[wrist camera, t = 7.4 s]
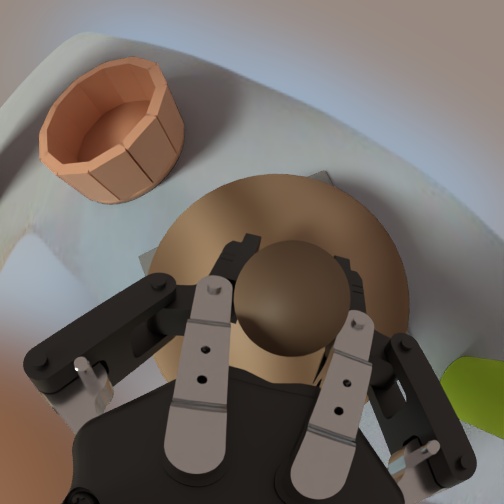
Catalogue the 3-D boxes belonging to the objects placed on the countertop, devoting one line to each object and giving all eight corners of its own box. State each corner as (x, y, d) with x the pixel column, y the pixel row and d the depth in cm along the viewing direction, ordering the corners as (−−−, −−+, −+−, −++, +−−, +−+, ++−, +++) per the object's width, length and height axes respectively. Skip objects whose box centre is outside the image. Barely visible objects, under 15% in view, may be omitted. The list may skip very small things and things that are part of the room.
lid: (216, 464, 15) (185, 551, 7) (117, 245, 19) (30, 197, 10) (435, 355, 16) (529, 369, 7) (329, 148, 20) (362, 53, 11)
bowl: (86, 227, 26) (43, 203, 19) (70, 136, 29) (39, 104, 22) (203, 165, 27) (184, 121, 20) (165, 83, 29) (147, 41, 23)
